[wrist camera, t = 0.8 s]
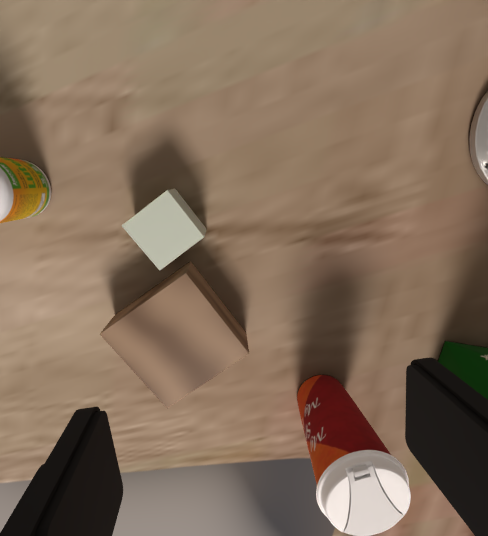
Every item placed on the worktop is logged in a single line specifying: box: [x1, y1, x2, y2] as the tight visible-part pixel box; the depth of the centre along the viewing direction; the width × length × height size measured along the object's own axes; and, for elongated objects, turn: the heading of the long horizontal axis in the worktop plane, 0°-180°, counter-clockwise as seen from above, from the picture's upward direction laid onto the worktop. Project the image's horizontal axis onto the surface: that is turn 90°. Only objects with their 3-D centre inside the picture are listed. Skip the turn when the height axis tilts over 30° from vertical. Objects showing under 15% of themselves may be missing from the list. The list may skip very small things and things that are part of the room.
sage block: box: [122, 189, 207, 270], centre depth 32 cm, size 5×5×5 cm
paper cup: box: [297, 375, 410, 536], centre depth 34 cm, size 8×8×14 cm
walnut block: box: [100, 261, 249, 408], centre depth 35 cm, size 10×10×5 cm
